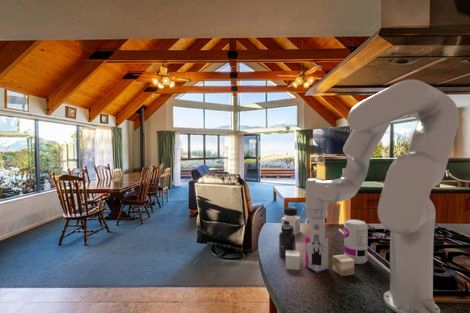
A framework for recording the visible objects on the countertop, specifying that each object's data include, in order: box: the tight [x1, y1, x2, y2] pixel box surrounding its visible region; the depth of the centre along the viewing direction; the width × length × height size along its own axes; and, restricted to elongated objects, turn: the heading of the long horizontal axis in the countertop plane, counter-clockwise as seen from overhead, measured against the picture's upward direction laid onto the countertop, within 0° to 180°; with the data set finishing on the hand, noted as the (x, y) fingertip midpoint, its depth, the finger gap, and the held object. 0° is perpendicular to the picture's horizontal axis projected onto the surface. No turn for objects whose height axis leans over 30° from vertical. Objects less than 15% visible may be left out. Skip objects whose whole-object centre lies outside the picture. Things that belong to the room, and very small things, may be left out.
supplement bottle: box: [278, 225, 297, 259], centre depth 102 cm, size 7×7×12 cm
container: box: [280, 206, 301, 236], centre depth 130 cm, size 8×8×13 cm
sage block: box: [285, 250, 301, 271], centre depth 92 cm, size 5×5×5 cm
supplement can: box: [343, 218, 368, 265], centre depth 97 cm, size 8×8×15 cm
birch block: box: [332, 253, 355, 277], centre depth 88 cm, size 5×5×5 cm
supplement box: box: [305, 235, 329, 274], centre depth 90 cm, size 6×6×12 cm
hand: (316, 258), depth 90 cm, fingers open, 9 cm apart
